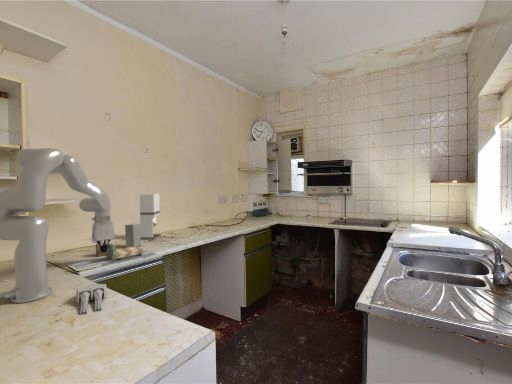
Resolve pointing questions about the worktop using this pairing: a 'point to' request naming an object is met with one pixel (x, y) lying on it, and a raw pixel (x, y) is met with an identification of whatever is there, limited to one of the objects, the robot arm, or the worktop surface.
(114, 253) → the multicoloured piece
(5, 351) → the worktop surface
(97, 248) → the walnut block
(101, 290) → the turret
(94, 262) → the rail track
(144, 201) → the white square column
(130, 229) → the skincare box
